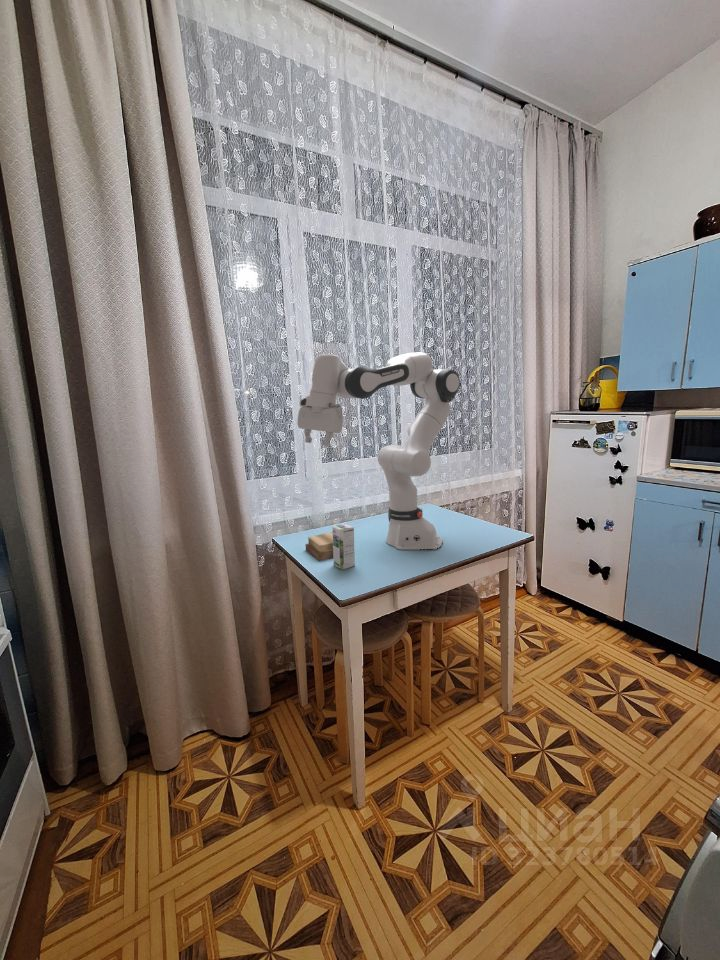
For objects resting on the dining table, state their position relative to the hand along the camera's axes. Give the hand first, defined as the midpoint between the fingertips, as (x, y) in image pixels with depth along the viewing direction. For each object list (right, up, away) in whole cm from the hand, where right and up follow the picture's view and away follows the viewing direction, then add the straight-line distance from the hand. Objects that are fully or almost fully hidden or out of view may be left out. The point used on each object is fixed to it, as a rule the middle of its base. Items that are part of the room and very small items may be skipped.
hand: (316, 444), depth 133 cm
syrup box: (+9, -43, +6) cm, 44 cm away
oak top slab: (+2, -37, +19) cm, 42 cm away
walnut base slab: (+2, -40, +19) cm, 45 cm away
